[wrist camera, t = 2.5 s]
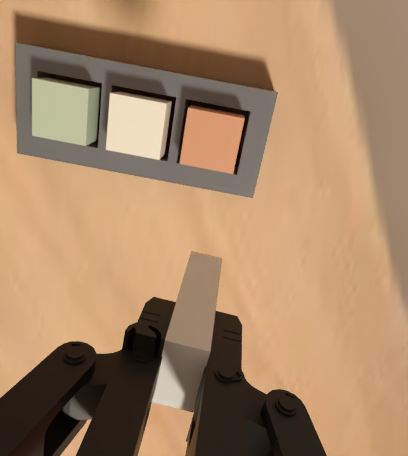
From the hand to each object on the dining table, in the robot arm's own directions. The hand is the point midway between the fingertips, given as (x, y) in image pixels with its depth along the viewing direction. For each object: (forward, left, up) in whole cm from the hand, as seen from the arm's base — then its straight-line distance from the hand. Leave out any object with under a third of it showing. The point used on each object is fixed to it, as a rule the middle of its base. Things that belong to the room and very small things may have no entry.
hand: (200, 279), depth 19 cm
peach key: (-1, +5, -14) cm, 15 cm away
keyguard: (-6, +5, -15) cm, 17 cm away
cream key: (-6, +5, -14) cm, 16 cm away
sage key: (-12, +5, -14) cm, 19 cm away
